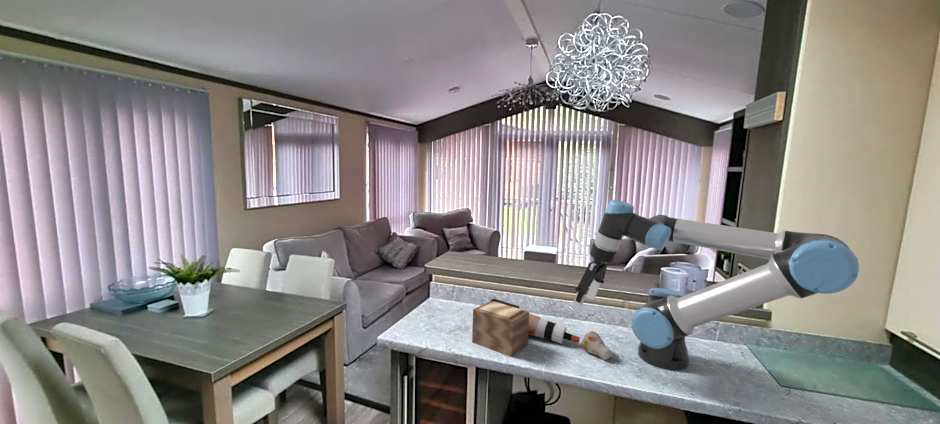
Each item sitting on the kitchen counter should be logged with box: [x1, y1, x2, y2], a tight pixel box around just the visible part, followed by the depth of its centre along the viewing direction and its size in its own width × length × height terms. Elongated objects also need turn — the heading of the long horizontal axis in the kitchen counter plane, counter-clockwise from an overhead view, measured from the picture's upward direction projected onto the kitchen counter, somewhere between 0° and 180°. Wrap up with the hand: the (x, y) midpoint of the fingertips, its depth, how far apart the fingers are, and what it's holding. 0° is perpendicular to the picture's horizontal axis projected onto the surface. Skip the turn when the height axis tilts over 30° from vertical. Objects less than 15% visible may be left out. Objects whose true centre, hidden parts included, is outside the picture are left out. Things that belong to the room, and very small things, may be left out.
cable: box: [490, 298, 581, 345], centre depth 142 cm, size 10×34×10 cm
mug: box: [580, 330, 614, 361], centre depth 130 cm, size 8×10×10 cm
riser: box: [471, 300, 530, 358], centre depth 135 cm, size 16×11×13 cm
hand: (583, 303), depth 131 cm, fingers open, 13 cm apart
